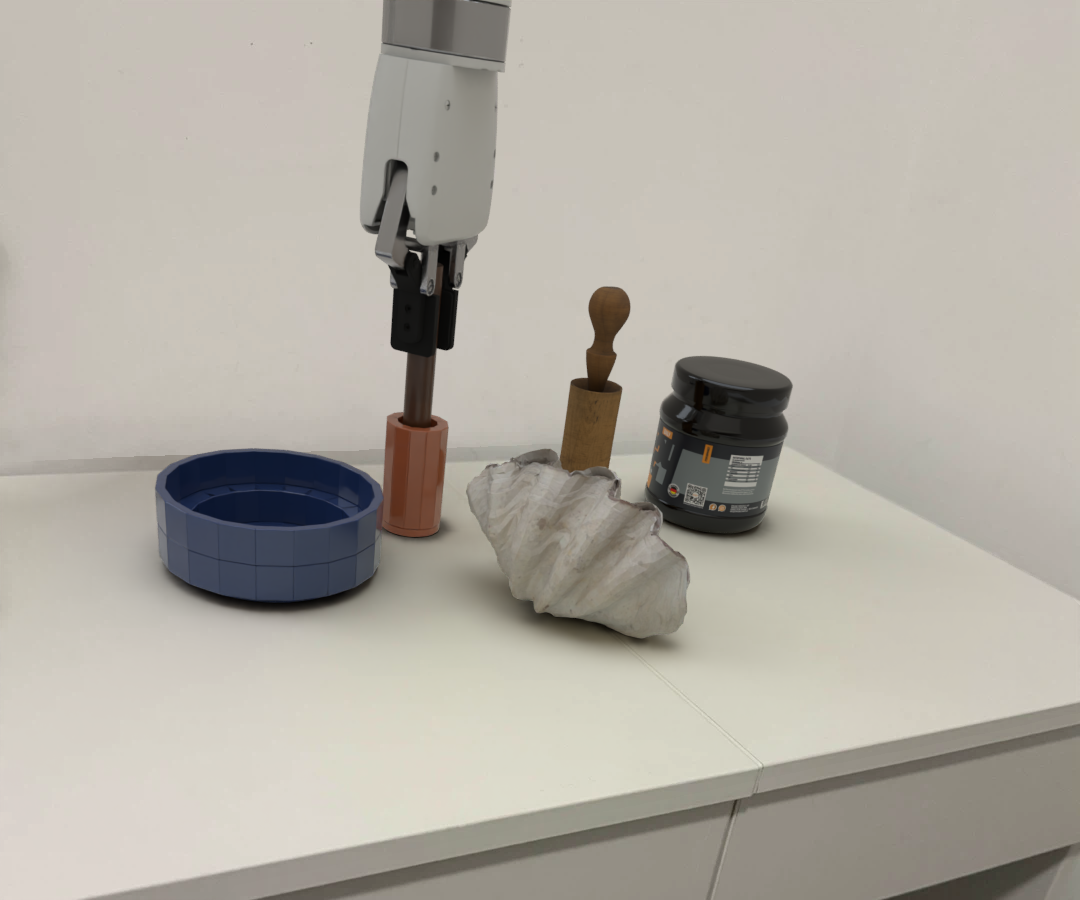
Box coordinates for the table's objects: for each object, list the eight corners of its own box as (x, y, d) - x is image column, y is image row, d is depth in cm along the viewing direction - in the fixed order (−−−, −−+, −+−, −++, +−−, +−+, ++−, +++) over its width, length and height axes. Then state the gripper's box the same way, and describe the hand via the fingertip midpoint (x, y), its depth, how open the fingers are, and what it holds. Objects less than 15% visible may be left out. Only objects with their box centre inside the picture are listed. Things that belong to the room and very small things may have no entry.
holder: (369, 526, 79) (375, 420, 75) (398, 509, 82) (405, 407, 78) (422, 542, 78) (430, 435, 74) (449, 524, 81) (458, 421, 77)
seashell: (557, 556, 79) (577, 424, 74) (693, 646, 69) (727, 502, 64) (440, 576, 73) (453, 435, 68) (571, 678, 64) (597, 523, 58)
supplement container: (678, 481, 97) (706, 347, 90) (782, 518, 92) (820, 379, 86) (618, 507, 89) (645, 363, 83) (729, 549, 85) (766, 399, 78)
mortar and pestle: (524, 528, 82) (557, 285, 73) (544, 502, 88) (576, 272, 78) (607, 547, 82) (651, 303, 72) (621, 519, 87) (664, 288, 77)
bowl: (112, 570, 68) (105, 488, 65) (247, 506, 79) (246, 434, 76) (303, 634, 64) (304, 550, 61) (415, 557, 75) (421, 483, 72)
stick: (391, 518, 79) (408, 261, 70) (404, 510, 81) (422, 258, 71) (415, 525, 79) (434, 267, 69) (427, 517, 80) (448, 264, 71)
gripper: (449, 35, 71) (427, 321, 81) (318, 15, 58) (311, 357, 68) (552, 52, 69) (517, 342, 79) (439, 34, 56) (415, 384, 66)
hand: (422, 347), depth 73 cm, fingers closed on stick, 2 cm apart
